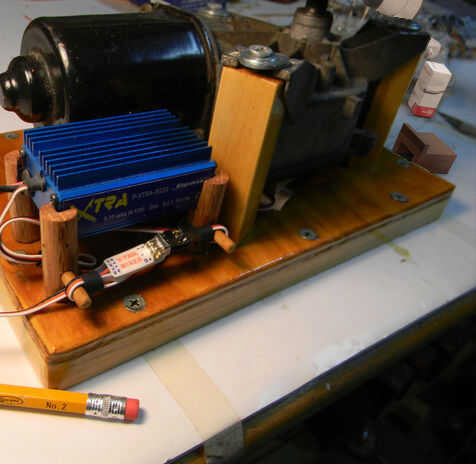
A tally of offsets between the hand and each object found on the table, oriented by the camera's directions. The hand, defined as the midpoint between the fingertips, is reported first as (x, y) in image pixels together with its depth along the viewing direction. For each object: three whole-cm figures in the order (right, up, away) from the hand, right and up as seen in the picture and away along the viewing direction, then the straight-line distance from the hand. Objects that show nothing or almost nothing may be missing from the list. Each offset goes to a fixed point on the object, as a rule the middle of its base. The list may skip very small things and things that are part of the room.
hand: (414, 55), depth 129 cm
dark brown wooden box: (-12, -33, -25) cm, 43 cm away
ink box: (0, -16, -2) cm, 16 cm away
